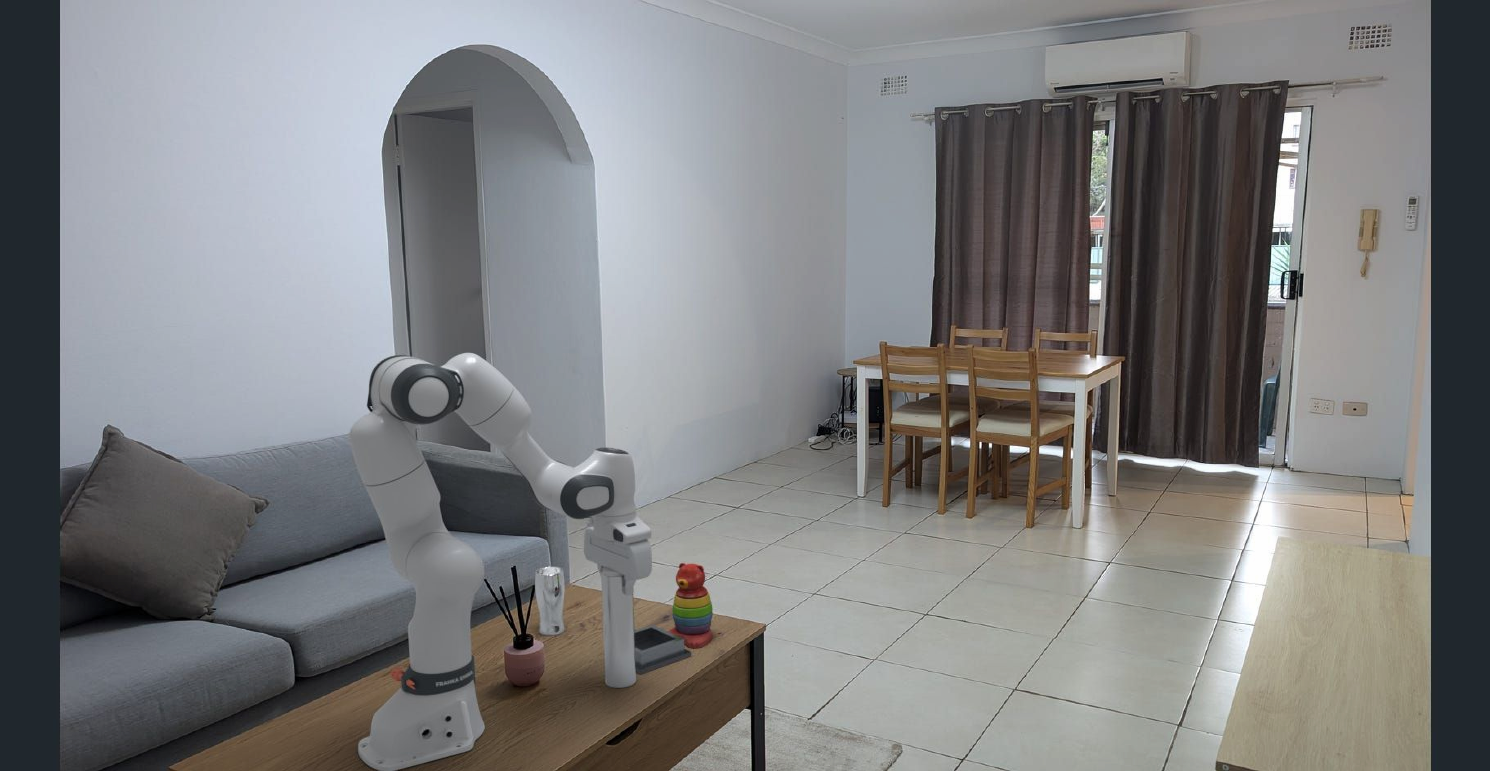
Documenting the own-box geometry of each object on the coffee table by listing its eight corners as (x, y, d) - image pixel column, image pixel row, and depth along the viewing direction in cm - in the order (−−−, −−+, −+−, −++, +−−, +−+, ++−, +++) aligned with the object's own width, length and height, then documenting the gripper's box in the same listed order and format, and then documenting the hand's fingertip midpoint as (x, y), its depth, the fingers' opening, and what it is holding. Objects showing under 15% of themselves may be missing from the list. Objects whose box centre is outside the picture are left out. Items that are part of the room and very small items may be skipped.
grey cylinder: (630, 689, 201) (626, 572, 198) (600, 687, 202) (596, 571, 199) (640, 676, 207) (636, 562, 204) (611, 673, 208) (607, 561, 205)
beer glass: (535, 627, 236) (533, 568, 234) (564, 624, 238) (562, 564, 236) (538, 638, 229) (535, 576, 227) (568, 634, 231) (565, 573, 229)
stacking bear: (660, 640, 227) (658, 566, 224) (687, 626, 235) (685, 555, 232) (697, 650, 220) (695, 574, 218) (723, 635, 229) (721, 562, 226)
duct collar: (640, 674, 208) (639, 656, 207) (603, 655, 218) (603, 638, 218) (691, 656, 217) (690, 639, 217) (654, 638, 227) (653, 622, 227)
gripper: (575, 518, 206) (577, 581, 208) (630, 537, 191) (632, 605, 192) (600, 512, 210) (602, 574, 212) (656, 531, 195) (658, 597, 197)
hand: (617, 589), depth 202 cm, fingers closed on grey cylinder, 6 cm apart
